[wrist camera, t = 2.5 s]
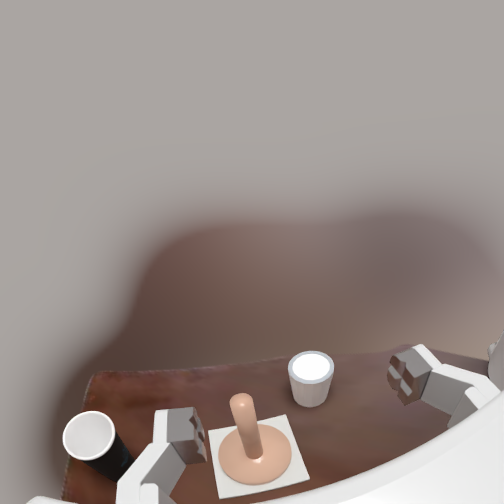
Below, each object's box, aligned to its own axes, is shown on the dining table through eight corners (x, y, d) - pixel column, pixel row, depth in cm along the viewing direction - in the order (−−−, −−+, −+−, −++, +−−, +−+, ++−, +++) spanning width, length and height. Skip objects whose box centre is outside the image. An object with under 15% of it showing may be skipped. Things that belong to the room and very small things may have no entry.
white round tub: (280, 395, 44) (278, 368, 41) (308, 372, 48) (308, 344, 45) (312, 417, 39) (314, 391, 36) (339, 390, 43) (343, 362, 40)
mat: (285, 415, 40) (285, 414, 40) (309, 479, 30) (309, 478, 29) (208, 431, 39) (208, 430, 38) (219, 499, 28) (219, 498, 28)
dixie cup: (157, 475, 31) (124, 440, 26) (115, 500, 26) (74, 468, 22) (131, 442, 36) (100, 401, 32) (93, 463, 32) (55, 425, 27)
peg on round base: (281, 421, 39) (275, 360, 33) (300, 475, 30) (302, 427, 24) (215, 434, 38) (191, 377, 32) (225, 491, 29) (198, 449, 23)
